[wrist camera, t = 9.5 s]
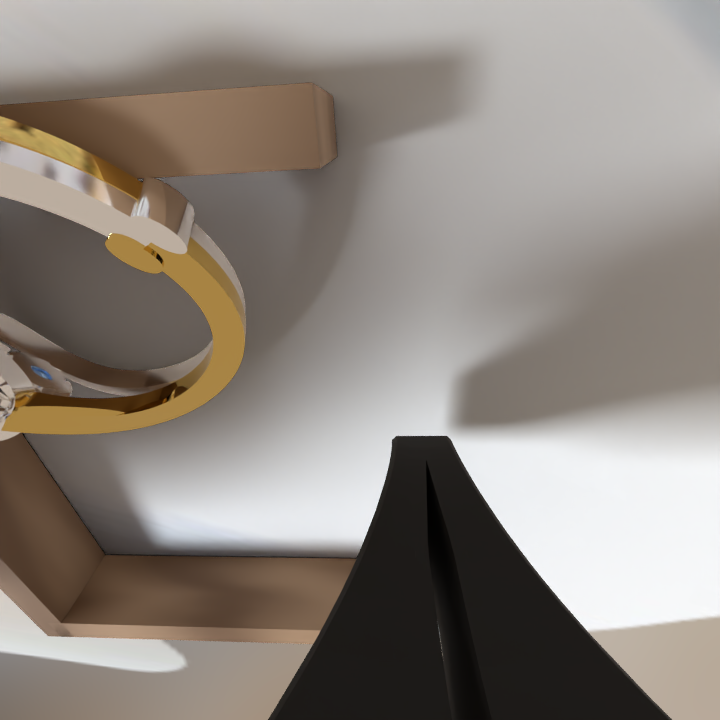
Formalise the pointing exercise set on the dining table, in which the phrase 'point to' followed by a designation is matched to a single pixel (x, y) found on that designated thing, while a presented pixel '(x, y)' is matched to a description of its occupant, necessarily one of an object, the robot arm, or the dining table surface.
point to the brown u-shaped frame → (36, 486)
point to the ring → (136, 248)
